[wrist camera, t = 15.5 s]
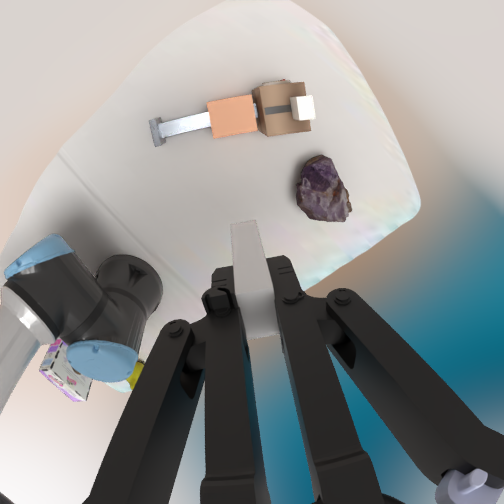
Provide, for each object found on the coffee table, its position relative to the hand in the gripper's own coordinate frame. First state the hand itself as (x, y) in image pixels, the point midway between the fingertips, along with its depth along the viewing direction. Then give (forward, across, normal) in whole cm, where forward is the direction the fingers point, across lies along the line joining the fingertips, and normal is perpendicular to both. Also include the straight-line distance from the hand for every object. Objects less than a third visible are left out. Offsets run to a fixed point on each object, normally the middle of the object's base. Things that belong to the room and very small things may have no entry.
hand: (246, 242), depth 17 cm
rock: (+33, +14, -9) cm, 37 cm away
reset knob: (+22, +10, +6) cm, 25 cm away
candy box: (+33, -51, -37) cm, 71 cm away
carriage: (+32, +1, +6) cm, 33 cm away
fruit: (+33, -37, -49) cm, 69 cm away
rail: (+32, -2, +6) cm, 33 cm away
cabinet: (+32, +8, +6) cm, 34 cm away
